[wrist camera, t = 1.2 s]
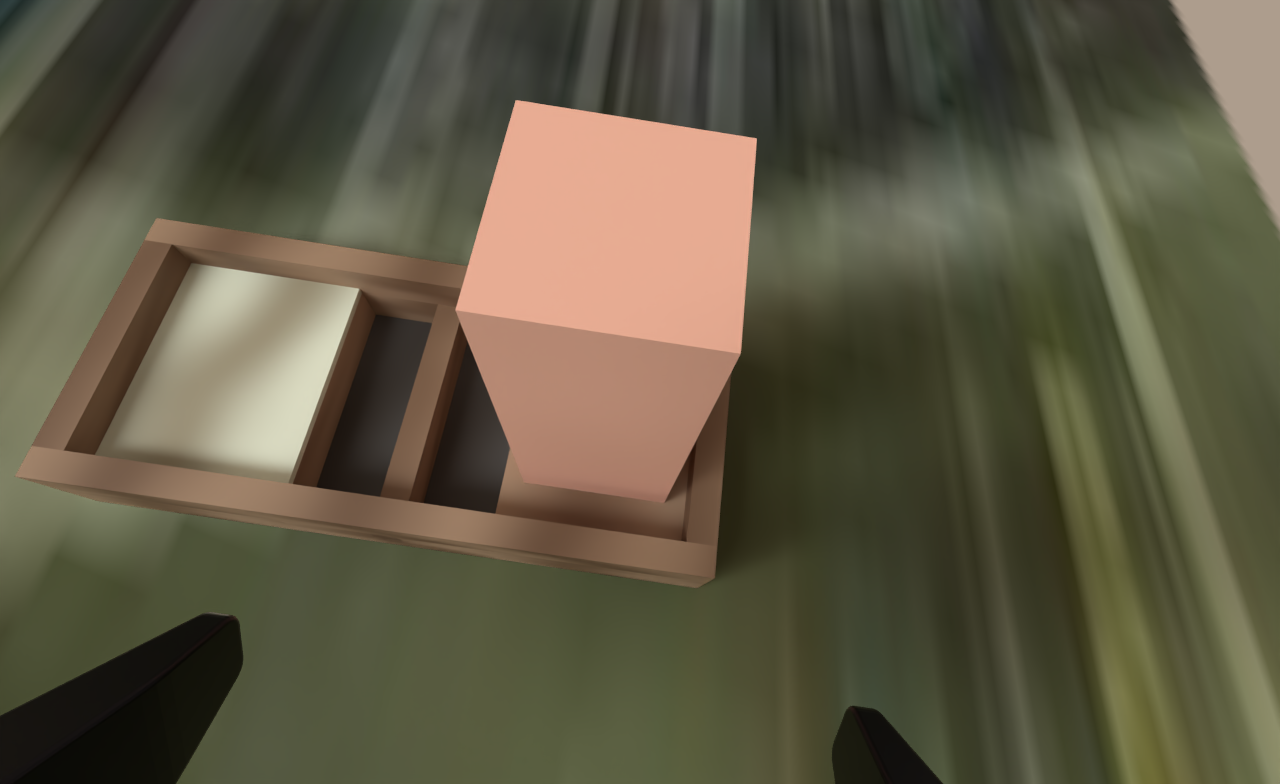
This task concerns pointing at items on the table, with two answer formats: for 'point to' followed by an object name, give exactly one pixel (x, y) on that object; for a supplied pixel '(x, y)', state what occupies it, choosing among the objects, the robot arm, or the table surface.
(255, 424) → the box
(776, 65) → the table surface
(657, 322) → the coral block
